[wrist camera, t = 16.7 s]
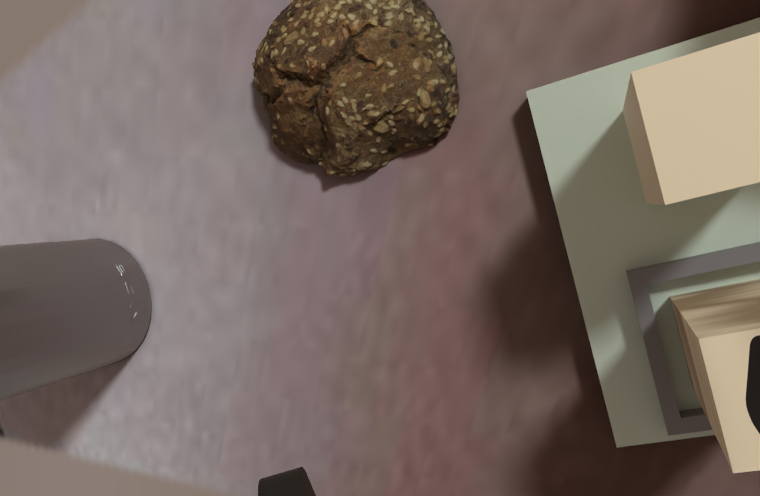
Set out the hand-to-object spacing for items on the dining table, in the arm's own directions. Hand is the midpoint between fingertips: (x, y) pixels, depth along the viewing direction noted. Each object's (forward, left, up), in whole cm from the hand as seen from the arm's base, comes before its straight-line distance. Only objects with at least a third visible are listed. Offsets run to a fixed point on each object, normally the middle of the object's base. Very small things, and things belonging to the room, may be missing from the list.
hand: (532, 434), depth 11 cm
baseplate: (+7, 0, -27) cm, 28 cm away
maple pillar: (+7, -5, -25) cm, 27 cm away
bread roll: (-10, +15, -28) cm, 33 cm away
